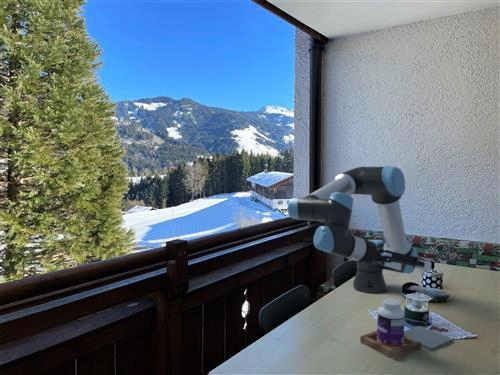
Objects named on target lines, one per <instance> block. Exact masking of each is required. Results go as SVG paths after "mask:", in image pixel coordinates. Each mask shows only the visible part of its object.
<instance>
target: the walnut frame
mask: <svg viewBox="0 0 500 375" xmlns="http://www.w3.org/2000/svg"><path fill="white" fill-rule="evenodd" d="M359 338H360V340H359V341H360V343H361V344H363V345H364V346H366V347H369V348H370V349H373V350H374V351H377V353H378V352H379V353H380V354H383V355H385V356H386V357H388V358H390V359H392V360H394V361H395V360H398V359H401V358H403V357H406V356H407V355H411V354H412V353H414V352H417V351H419V350H421V349H422V346H421V342H419V341H417V340H414V339H412V338H410V337H407V336H405V335H404V346H402V347H400V348H397V349H395V350H393V349H391V348H389V347H387V346H385V345H383V344H381V343H379V342H377V330H375V331H371V332H369V333H365V334H363V335H361V336H360V337H359Z"/></svg>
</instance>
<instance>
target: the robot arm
mask: <svg viewBox="0 0 500 375" xmlns="http://www.w3.org/2000/svg"><path fill="white" fill-rule="evenodd" d="M405 183H406V180H405V175H404V173H403V171H402V170H401V168H399V167H397V166H389V165H386V166H359V167H354V168H352V169H348V170H347V171H346V170H345V171H344V172H342V173H340V174H338V175H336V176H335V178H334V180H333V181H331V182H329V183H327V184H325V185H324V186H322V187H320V188H319V189H317V190H314V191H313V192H311V193H310V194H307V195H306V196H304V197H292V198H291V199H290V200H289V202H287V203H288V204H287V214H288V216H289V218H291V219H294V220H298V221H309V222H310V221H312V222H320V223H321V222H323V223H324V225H320V226H318V227H317V228H316V230H315V233H314V234H313V241H312V242H313V245H314V247H315V249H317V250H320V251H323V252H324V253H326V254H327V253H328V254H330V255H331V254H332V255H334V256H338V257H341V258H344V259H345V258H346V259H348V261H349V262H352V261H354V262H355V261H356V267H357V268H356V274H355V277H354V278H353V279H354V280H353V281H352V283H353V284H352V288H353V289H354V288H355V290H356V291H358V290H359V291H358V292H362V293H367V294H380V293H381V294H383V293H385V292H386V291H387V283H386V281H385V278H384V273H383V270H386V271H391V272H396V273H401V274H412V273H414V271H415V269H418V270H420V271H421V270H422V271H425V272H428V273H431V270H432V269H431V268H432V262H428V261H425V260H421V259H419V257H418V248H415V247H412V243H411V242H410V241H409V240H408V239H407V236H406V231H405V226H404V221H403V216H402V212H401V211H402V210H401V206H400V200H401V198H402V196H403V195H404V193H405V191H406V184H405ZM352 195H363V196H364V195H366V196H370V197H371V201H372V202H373V203H374V204H376V205H377V210H378V215H379V219H380V222H381V227H382V232H383V235H384V236H383V237H384V240H385V243H384V241H383V240H382V239H365V238H364V237H363V238H362V237H359V236H356V235H354V234H349V227H350V224H351V223H350V222H351V218H352V212H353V204H354V198H353V197H352Z"/></svg>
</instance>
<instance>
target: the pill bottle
mask: <svg viewBox="0 0 500 375" xmlns="http://www.w3.org/2000/svg"><path fill="white" fill-rule="evenodd" d="M381 300H382V301H381V306H379V307H378V309H377V320H376V321H377V322H376V323H377V325H376V326H377V328H376V329H377V330H376V331H377V340H376V342H379V343H381V344H383V345H385V346H387V347H389V348H391V349H393V350H395V349H397V348H400V347H402V346H405V344H404V331H405V312H404V310H402V308H401V301H399V300H397V299H394V298H383V299H381Z"/></svg>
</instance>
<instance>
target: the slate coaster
mask: <svg viewBox="0 0 500 375" xmlns="http://www.w3.org/2000/svg"><path fill="white" fill-rule="evenodd" d="M404 335H405V336H407V337H410V338H412V339H414V340H417V341H419V342H421V348H424V349H426V350H429V351H430V352H431V351H432V352H433V351H434V350H436V349H439V348H441V347H443V346H446V345H448V344H450V343H453V342H454V339H453V338H451V337H449V336H447V335H444V334H441V333H439V332H436V331H434V330H431V329H428V328H426V327H423V326H421V325H418V326H415V327H412V328H409V329H407V330H404Z"/></svg>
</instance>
